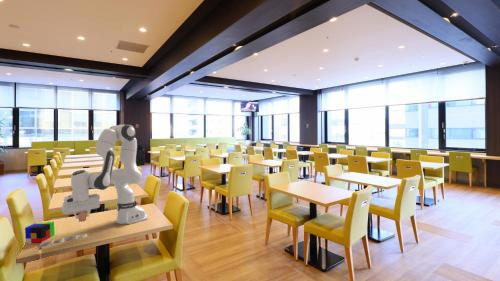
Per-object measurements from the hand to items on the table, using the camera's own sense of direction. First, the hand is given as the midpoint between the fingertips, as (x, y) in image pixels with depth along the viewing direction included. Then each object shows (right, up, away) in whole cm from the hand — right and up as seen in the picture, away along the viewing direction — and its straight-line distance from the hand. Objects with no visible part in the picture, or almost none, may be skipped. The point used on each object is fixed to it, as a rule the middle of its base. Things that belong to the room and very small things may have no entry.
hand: (82, 217), depth 168 cm
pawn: (0, -2, 0) cm, 2 cm away
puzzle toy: (-24, -13, -3) cm, 27 cm away
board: (-7, -13, -6) cm, 16 cm away
